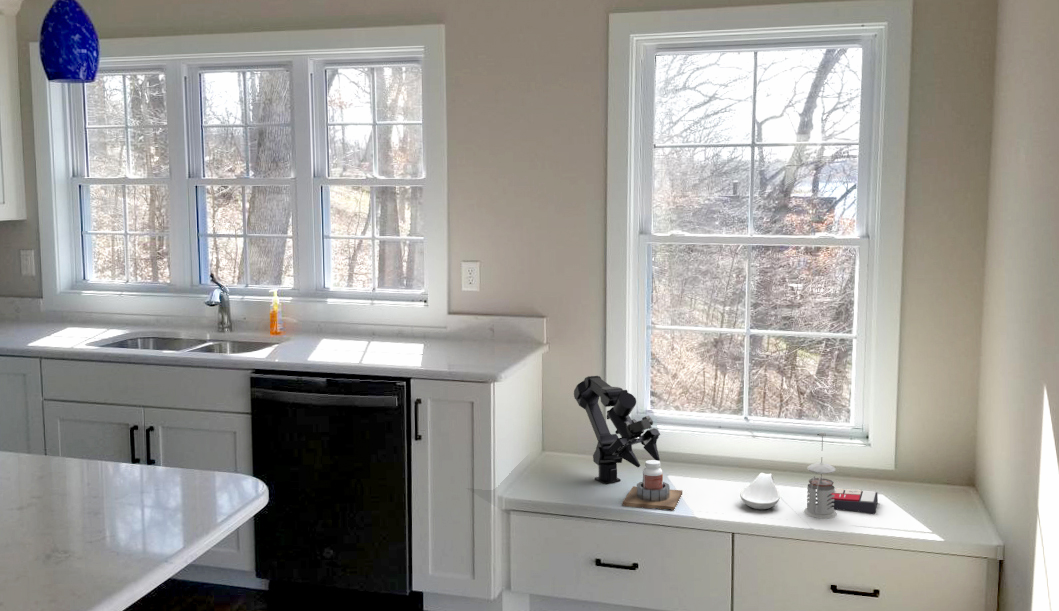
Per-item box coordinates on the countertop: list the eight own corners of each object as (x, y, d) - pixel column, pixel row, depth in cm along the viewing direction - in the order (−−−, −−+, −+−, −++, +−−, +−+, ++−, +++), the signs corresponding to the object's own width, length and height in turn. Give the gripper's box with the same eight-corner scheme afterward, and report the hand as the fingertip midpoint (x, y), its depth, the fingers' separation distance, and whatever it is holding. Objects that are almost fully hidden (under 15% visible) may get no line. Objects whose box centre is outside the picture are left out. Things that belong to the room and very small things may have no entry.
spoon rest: (777, 515, 292) (777, 492, 291) (737, 511, 296) (737, 488, 295) (785, 491, 314) (785, 469, 313) (748, 487, 318) (748, 466, 317)
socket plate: (622, 505, 302) (622, 502, 301) (633, 489, 317) (633, 486, 317) (674, 510, 297) (674, 506, 297) (682, 494, 312) (682, 490, 312)
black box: (827, 486, 307) (877, 489, 301) (827, 499, 308) (877, 503, 302) (822, 497, 297) (874, 500, 291) (823, 510, 298) (875, 514, 292)
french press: (841, 510, 295) (843, 430, 291) (830, 522, 285) (832, 439, 282) (809, 505, 300) (810, 426, 297) (797, 516, 290) (799, 434, 287)
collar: (630, 494, 308) (630, 483, 308) (656, 489, 313) (656, 478, 313) (649, 503, 300) (649, 492, 299) (675, 497, 305) (675, 487, 304)
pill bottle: (666, 497, 305) (666, 463, 304) (649, 500, 303) (649, 465, 301) (656, 491, 311) (656, 458, 309) (639, 494, 308) (639, 460, 307)
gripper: (616, 413, 302) (642, 455, 296) (655, 403, 315) (682, 443, 308) (598, 433, 309) (623, 475, 303) (637, 423, 321) (663, 462, 315)
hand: (649, 463), depth 307 cm, fingers open, 9 cm apart
